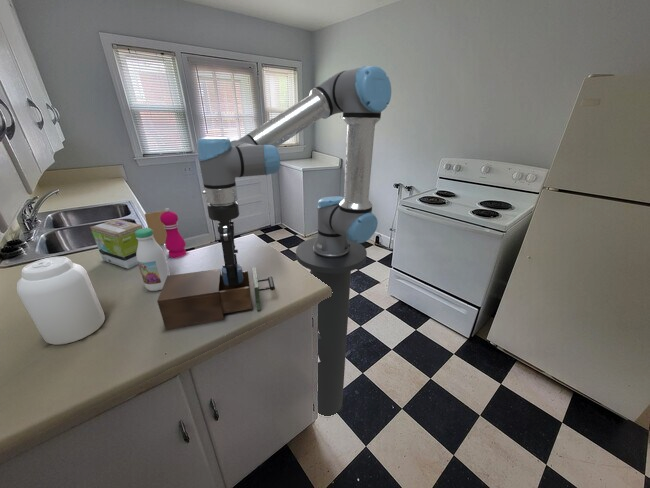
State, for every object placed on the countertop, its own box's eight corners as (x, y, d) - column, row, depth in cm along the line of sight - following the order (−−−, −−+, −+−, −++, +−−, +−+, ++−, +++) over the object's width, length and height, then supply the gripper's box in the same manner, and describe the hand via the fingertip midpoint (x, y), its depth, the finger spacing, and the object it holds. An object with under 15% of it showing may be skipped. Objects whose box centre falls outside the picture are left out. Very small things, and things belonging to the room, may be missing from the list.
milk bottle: (162, 276, 96) (147, 224, 87) (177, 282, 93) (163, 228, 84) (140, 287, 89) (122, 232, 81) (155, 294, 86) (138, 237, 78)
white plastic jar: (30, 345, 67) (-12, 276, 58) (75, 312, 78) (46, 250, 69) (79, 347, 66) (44, 278, 58) (117, 314, 77) (92, 252, 69)
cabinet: (224, 294, 87) (220, 268, 83) (223, 320, 76) (218, 291, 72) (174, 302, 83) (167, 275, 79) (165, 330, 72) (156, 301, 68)
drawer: (272, 285, 90) (270, 265, 87) (277, 306, 80) (275, 284, 77) (214, 294, 85) (210, 273, 82) (211, 318, 75) (207, 295, 72)
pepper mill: (163, 257, 109) (151, 209, 101) (177, 249, 116) (166, 204, 107) (178, 259, 108) (167, 211, 99) (191, 251, 114) (181, 206, 105)
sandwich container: (169, 231, 134) (162, 201, 128) (175, 241, 123) (167, 210, 116) (149, 234, 129) (141, 204, 123) (153, 246, 118) (144, 213, 112)
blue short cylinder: (243, 274, 82) (241, 262, 80) (243, 284, 77) (242, 272, 75) (223, 276, 80) (221, 265, 79) (222, 286, 75) (220, 274, 74)
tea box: (101, 261, 105) (88, 226, 99) (127, 251, 113) (116, 218, 107) (127, 269, 100) (115, 232, 94) (152, 258, 108) (142, 223, 102)
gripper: (209, 194, 76) (221, 266, 86) (203, 214, 60) (218, 300, 70) (237, 192, 78) (245, 262, 88) (238, 212, 62) (248, 295, 72)
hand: (233, 279), depth 79 cm, fingers closed on blue short cylinder, 6 cm apart
